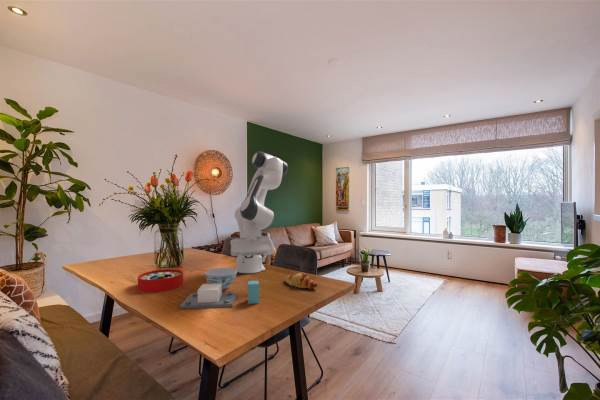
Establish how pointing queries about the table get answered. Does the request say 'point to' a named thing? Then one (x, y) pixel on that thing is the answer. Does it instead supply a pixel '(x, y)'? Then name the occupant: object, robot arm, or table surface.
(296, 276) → the croissant
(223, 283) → the chinaware
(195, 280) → the table surface
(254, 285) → the teal brick
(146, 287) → the toy clock
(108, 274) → the table surface
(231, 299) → the stack base
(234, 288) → the table surface
